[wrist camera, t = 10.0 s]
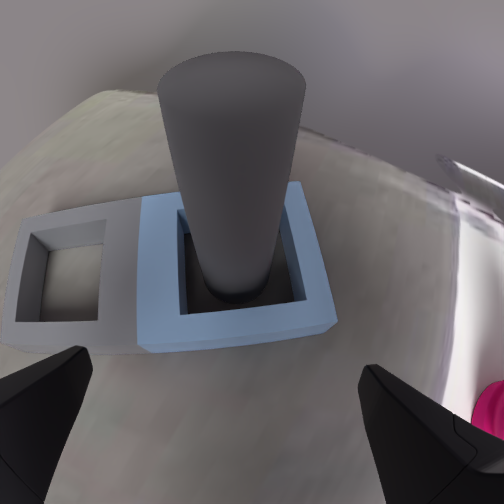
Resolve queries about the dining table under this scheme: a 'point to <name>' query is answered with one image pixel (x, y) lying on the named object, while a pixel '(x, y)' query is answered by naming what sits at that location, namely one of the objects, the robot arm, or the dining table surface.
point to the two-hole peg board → (156, 282)
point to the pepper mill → (491, 410)
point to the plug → (233, 160)
